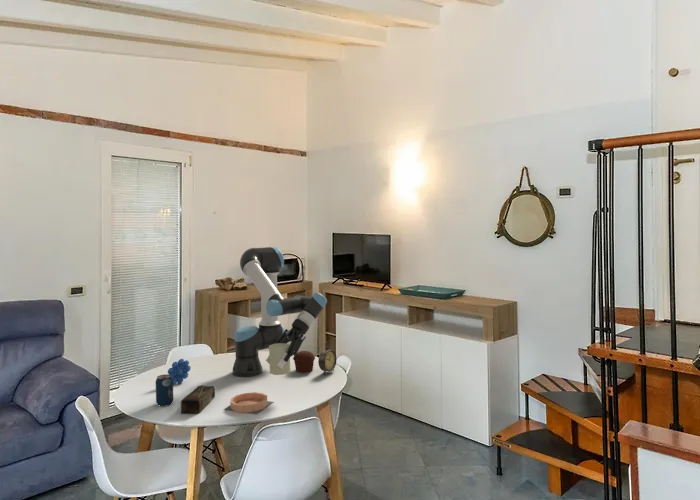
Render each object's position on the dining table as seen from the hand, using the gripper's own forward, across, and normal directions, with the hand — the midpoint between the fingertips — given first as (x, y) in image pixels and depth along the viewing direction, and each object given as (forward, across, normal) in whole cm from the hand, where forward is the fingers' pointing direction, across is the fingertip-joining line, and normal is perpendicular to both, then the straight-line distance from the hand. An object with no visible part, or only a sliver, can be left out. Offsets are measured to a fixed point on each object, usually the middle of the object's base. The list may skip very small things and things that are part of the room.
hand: (273, 364), depth 204 cm
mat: (+20, 0, +3) cm, 20 cm away
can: (+1, 0, +5) cm, 5 cm away
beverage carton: (+31, -16, -8) cm, 35 cm away
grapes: (+27, -52, -4) cm, 59 cm away
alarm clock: (-17, -15, +40) cm, 46 cm away
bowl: (+19, 0, +2) cm, 19 cm away
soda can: (+38, -29, -15) cm, 49 cm away
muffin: (-13, -26, +36) cm, 46 cm away
